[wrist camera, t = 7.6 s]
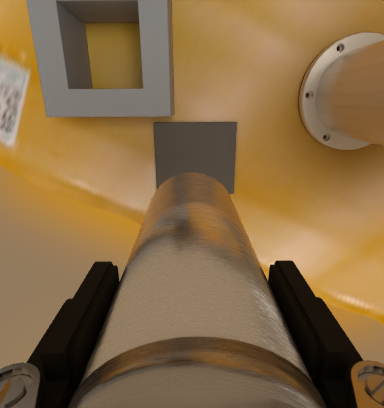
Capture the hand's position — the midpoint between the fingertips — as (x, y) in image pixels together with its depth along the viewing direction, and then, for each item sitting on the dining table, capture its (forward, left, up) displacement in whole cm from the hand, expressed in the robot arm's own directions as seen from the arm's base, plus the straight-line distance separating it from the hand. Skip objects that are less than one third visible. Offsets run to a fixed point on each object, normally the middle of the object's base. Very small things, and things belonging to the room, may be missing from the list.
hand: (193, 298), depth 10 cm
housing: (+8, -11, -27) cm, 30 cm away
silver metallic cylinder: (0, 0, -8) cm, 8 cm away
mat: (0, 0, -27) cm, 27 cm away
